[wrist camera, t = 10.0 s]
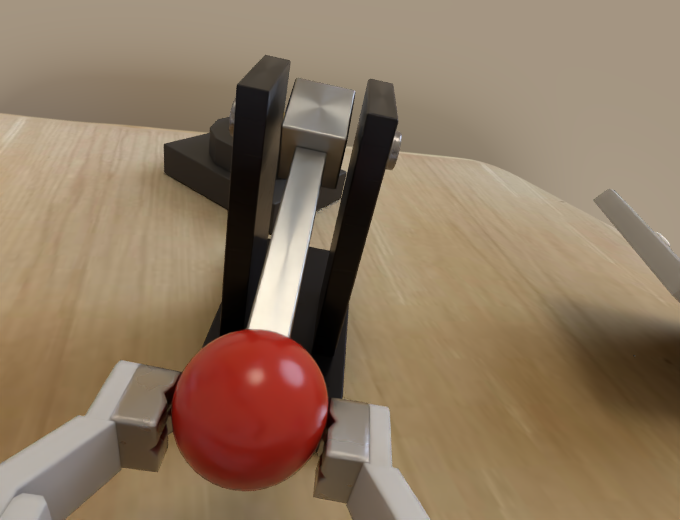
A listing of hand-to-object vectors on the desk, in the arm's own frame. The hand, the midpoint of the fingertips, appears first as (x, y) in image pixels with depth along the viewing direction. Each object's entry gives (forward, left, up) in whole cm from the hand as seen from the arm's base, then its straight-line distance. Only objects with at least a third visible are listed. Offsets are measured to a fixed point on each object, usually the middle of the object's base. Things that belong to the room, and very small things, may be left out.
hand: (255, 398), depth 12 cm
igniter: (-16, +18, -6) cm, 24 cm away
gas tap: (-5, +8, -6) cm, 11 cm away
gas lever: (-2, +4, 0) cm, 5 cm away
